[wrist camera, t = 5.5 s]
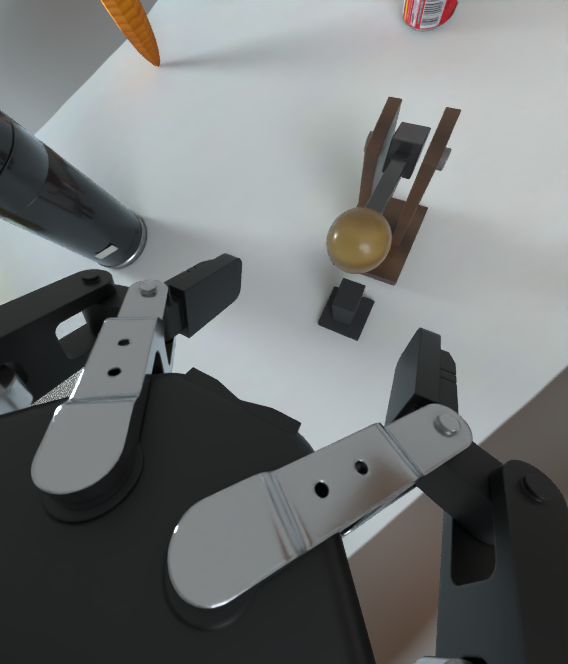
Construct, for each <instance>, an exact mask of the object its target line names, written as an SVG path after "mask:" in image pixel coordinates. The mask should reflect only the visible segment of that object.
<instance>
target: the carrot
mask: <svg viewBox="0 0 568 664" xmlns="http://www.w3.org/2000/svg"><path fill="white" fill-rule="evenodd" d="M101 2H102V3H103V5H104V6H105V8H106V9H107V11H108V12H109V14H110V15H111V17H112V18H113V20H114V21H115V22H116V24H117V25H118V27H119V28H120V29H121V31H122V32H123V33H124V35H125V36H126V37H127V38H128V40H129V41H130V42H131V43H132V45H133V46H134V47H135V48H136V49H137V51H138V52H139V53H140V54H141V55H142V56H143V57H144V58H145V59H147V60H148V61H149V62H150V63H152V64H153V65H155V66H158V67H159V66H160V57H159V51H158V47H157V42H156V39H155V36H154V33H153V31H152V28H151V25H150V23H149V20H148V18H147V15H146V13H145V11H144V9H143V7H142V5H141V3H140V1H139V0H101Z"/></svg>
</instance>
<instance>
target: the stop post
mask: <svg viewBox="0 0 568 664" xmlns="http://www.w3.org/2000/svg"><path fill="white" fill-rule="evenodd" d="M364 289H365V285H362V284H359V283H357V282H354V281H351V280H348V279H345V278H343V280H342V282H341V284H340V287H339V288H338V287H334V288H333V291H332V293H331V295H330V298H329V300H328V302H327V304H326V307H325V309H324V311H323V313H322V316H321V318H320V320H319V323H318V325H320V326H323V327H325V328H327V329H330V330H332V331H335V332H337V333H340V334H342V335H344V336H347V337H349V338H352V339H354V340H357V341H358V339H359V337H360V334H361V332H362V330H363V328H364V325H365V323H366V321H367V318H368V316H369V314H370V311H371V309H372V307H373V304H374V302H375V301H373V300H370V299H368V298H365V297H362V295H363V292H364Z"/></svg>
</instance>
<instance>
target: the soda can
mask: <svg viewBox="0 0 568 664" xmlns="http://www.w3.org/2000/svg"><path fill="white" fill-rule="evenodd" d="M458 1H459V0H404V3H403V19H404V21H405V22H406V23H407V24H408V25H409V26H410V27H412V28H413V29H415V30H418V31H428V30H432V29H434V28H436V27H438V26H440V25H442V24H443V23H445V22H446V21H447V20H448V19H449V18H450V17H451V16H452V15H453V13H454V11H455V9H456V6H457V4H458Z"/></svg>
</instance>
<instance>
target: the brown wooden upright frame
mask: <svg viewBox="0 0 568 664" xmlns="http://www.w3.org/2000/svg"><path fill="white" fill-rule="evenodd" d="M401 102H402V99H399V98H394V97H388V99H387V102H386V104H385V106H384V108H383V111H382V113H381V115H380V117H379V120H378V122H377V124H376V126H375V129H374V131H370V133H369V135H368V137H367V140H366V143H365V147H364V153H365V154H364V162H363V170H362V178H361V186H360V194H359V202H358V205H357V207H365V206H366V204H367V202H368V200H369V199H370V197H371V195H372V193H373V191H374V190H375V188H376V186H377V184H378V182H379V181H380V179H381V177H382V175H383V172H382V169H383V166H384V162H385V159H386V156H387V152H388V149H389V146H390V142H391V139H392V137H393V136H394V132H395V127H396V123H397V119H398V115H399V111H400V106H401ZM460 112H461V110H460V109H454V108H449V107H446V109H445V111H444V113H443V116H442V118H441V120H440V122H439V125H438V127H437V129H436V132H435V134H434V136H433V139H432V141H431V143H430V146H429V148H428V150H427V153H426V155H425V157H424V160H423V162H422V164H421V167H420V169H419V172H418V174H417V177H416V179H415V181H414V184H413V186H412V189H411V191H410V194H409V196H408V199H407V201H402V200H398V199H395V198H391V199H390V201H389V203H388V205H387V207H386V209H385V211H384V214H383V216H384V217H385V219H386V220H387V222H388V224H389V226H390V229H391V234H392V241H391V247H390V250H389V252H388V254H387V256H386V258H385V259H384V260H383V262H382V263H381V264H379V265H378V266H377V267H376V268H374V269H373V270H371V271H368V272H365V273H360V274H362V275H365V276H368V277H371V278H374V279H377V280H379V281H382V282H385V283H388V284H391V285H395V284H396V282H397V280H398V277H399V275H400V273H401V270H402V268H403V266H404V263H405V261H406V259H407V256H408V254H409V252H410V249H411V247H412V244H413V242H414V240H415V237H416V235H417V233H418V230H419V228H420V226H421V223H422V221H423V219H424V216H425V214H426V212H427V209H428V207H424V206H420V205H419V203H420V201H421V199H422V197H423V195H424V192H425V190H426V188H427V186H428V184H429V182H430V180H431V178H432V176H433V174H434V172H435V170H439V171H442V169H443V167H444V165H445V163H446V161H447V159H448V157H449V155H450V152H451V148H446V145H447V142H448V140H449V138H450V135H451V133H452V131H453V128H454V126H455V124H456V121H457V119H458V117H459V114H460ZM357 207H356V208H357ZM333 265H335V264H334V263H333Z"/></svg>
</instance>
